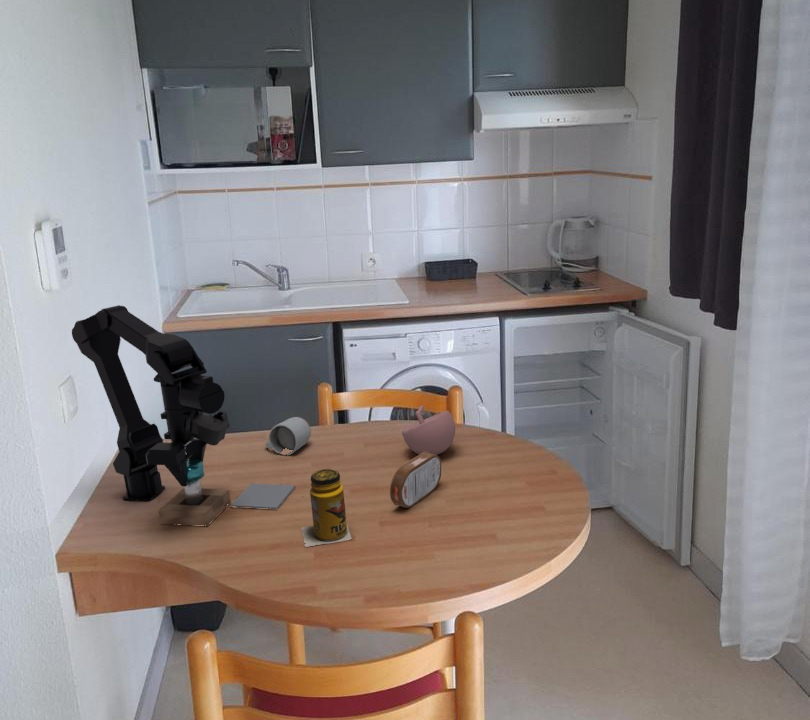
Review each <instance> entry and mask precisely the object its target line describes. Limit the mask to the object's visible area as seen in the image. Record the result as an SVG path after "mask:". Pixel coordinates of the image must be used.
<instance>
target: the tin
mask: <svg viewBox="0 0 810 720" xmlns="http://www.w3.org/2000/svg"><path fill="white" fill-rule="evenodd" d="M441 477H442V459H441V458H440V456H439V455H435V454H431V453H429V452H423V453H421V454H417V455H416V456H414V457H413V458H411V459H409V460H408V461H407V462H405V463H403V464H401V465H400V466H399V467H398V468H397V469H396V471H395V473H394V475H393V477H392V479H391V483H390V488H389V497H390V500H391V503H392V504H393V505H395V506H400V507H402V508H406V509H407V508H411V507H413V506H414V505H416V504H418V503H419V502H420V501H422V500H423V499H424V498H426V497H428V496H429V495H430V494H432V493H433V492H434V491H435V490H436V489H437V487H438V485H439V483H440V480H441Z"/></svg>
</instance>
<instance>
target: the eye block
mask: <svg viewBox="0 0 810 720" xmlns="http://www.w3.org/2000/svg"><path fill="white" fill-rule="evenodd" d="M201 489H202V496H203V503H202V504H201V505H200V506H195V505H187V503H186V497H185V490H184V487H183V488H182V489H181V490H180V491H179V492H177V494H175V495H174V496H173V497H172V498H171V499H170V500H168V501H167V502H166V503H165V504H164V505H162V507H160V509H158V516H159V517H158V518H159V522H160V525H163V524H164V526H165V524H169V525H168V526H171V525H170V524H176V525H175V526H178V525H177V524H181V525H204V526H205V525H206V526H208V525H209V523H210V522H211V521H212V520H213V519H214V518H215V517H216V516H217V515H218V514H219V513H220V512H221V511H222V510H223V509H224V508H225V507H226V506H227V504H229V503H230V502H231V496H230V489H223V488H221V489H220V488H219V489H218V488H202V487H201ZM231 503H232V502H231ZM231 503H230V504H231ZM230 504H229V505H230ZM227 507H228V506H227ZM227 507H226V508H227ZM209 526H210V525H209ZM209 526H208V527H209Z"/></svg>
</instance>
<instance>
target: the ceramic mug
mask: <svg viewBox="0 0 810 720" xmlns="http://www.w3.org/2000/svg"><path fill="white" fill-rule="evenodd" d="M311 434H312V429H311V426H310V424H309V423H308V421H307V420H305V419H304V418H302V417H300V416H293V417H290V418H287V419H286V420H284V421H282V422H280V423H278V424H275V425H274V426H273V427H272V428H271V429H270V431H269V434H268V441H266V442H265V443H264V445H265V446H266V449H267V448H268V450H271V449H272V450H273V451H274V452H276V454H278V453H281V452H282V451H283V449H285V448H287V449H289V450H293V451H292V452H290V453H288V455H287V456H290V455H292V454H294V453H295V452H297V451H298V450H299V449H301V447H303V446H305V445H306V444H307V443H308V441H309V440H310V439H311V436H312V435H311Z"/></svg>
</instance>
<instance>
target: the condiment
mask: <svg viewBox="0 0 810 720" xmlns="http://www.w3.org/2000/svg"><path fill="white" fill-rule="evenodd" d="M310 482H311V483H310V486H311V488H310V489H309V490H310V491H309V496H310V504H311V514H312V515H311V517H312V523H313V525H309V526H307V525H306V526H302V527H300V528H301V533H302V537H305V538H304V539H303V544H304V543H306V544H304V548H309V547H315V546H321V545H327V544H333V543H339V542H341V543H342V542H344V541H345V542H347V541H349V540H352V539H353V538H352V535H351V533H350V529H349V525H348V523H347V522H348V521H347V514H346V504H345V495H344V487H343V485H342V484H341V475H340V473H339V471H337V470H335V469H330V468H329V469H328V468H324V469H319V470H317V471H314V473H312V474H311V476H310ZM303 534H304V535H303Z"/></svg>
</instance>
